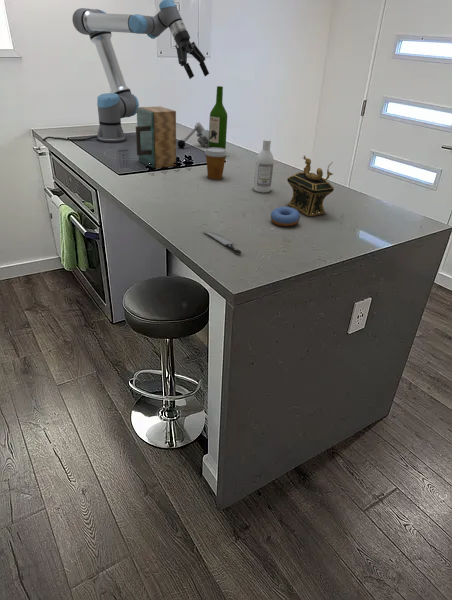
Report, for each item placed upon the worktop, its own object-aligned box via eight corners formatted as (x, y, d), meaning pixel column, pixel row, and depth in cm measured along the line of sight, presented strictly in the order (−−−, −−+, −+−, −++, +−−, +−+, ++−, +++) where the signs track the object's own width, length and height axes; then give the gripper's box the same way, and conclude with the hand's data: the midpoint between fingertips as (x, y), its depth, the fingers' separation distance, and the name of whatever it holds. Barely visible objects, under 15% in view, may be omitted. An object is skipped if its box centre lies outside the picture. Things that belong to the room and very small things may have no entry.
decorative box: (282, 203, 165) (289, 150, 155) (302, 201, 169) (310, 149, 159) (314, 222, 151) (324, 164, 140) (336, 218, 155) (347, 162, 144)
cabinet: (155, 168, 198) (153, 112, 185) (141, 161, 207) (138, 107, 195) (176, 165, 204) (175, 111, 191) (161, 159, 213) (160, 106, 201)
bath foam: (273, 192, 177) (279, 141, 167) (258, 193, 175) (263, 142, 164) (265, 187, 183) (270, 137, 172) (250, 188, 180) (255, 138, 169)
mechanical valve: (218, 142, 240) (202, 120, 230) (197, 165, 239) (180, 145, 229) (209, 140, 248) (194, 119, 238) (189, 162, 247) (172, 142, 237)
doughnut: (279, 229, 143) (280, 216, 140) (264, 219, 150) (266, 206, 148) (304, 226, 146) (306, 213, 144) (289, 216, 154) (291, 204, 152)
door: (140, 169, 194) (137, 113, 181) (126, 162, 203) (123, 108, 191) (155, 168, 198) (153, 112, 185) (140, 161, 207) (138, 107, 195)
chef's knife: (211, 231, 138) (203, 232, 137) (211, 228, 138) (203, 229, 136) (247, 253, 125) (238, 255, 124) (247, 250, 125) (239, 251, 123)
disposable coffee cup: (229, 176, 193) (230, 149, 186) (219, 182, 185) (221, 153, 179) (210, 173, 196) (211, 146, 190) (200, 178, 188) (201, 149, 182)
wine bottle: (205, 155, 224) (207, 86, 207) (212, 152, 232) (215, 85, 215) (221, 158, 222) (224, 88, 205) (227, 154, 229) (231, 86, 212)
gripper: (169, 29, 201) (190, 74, 206) (199, 28, 219) (218, 70, 224) (159, 38, 206) (180, 82, 211) (189, 37, 224) (207, 77, 229)
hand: (199, 76), depth 217 cm, fingers open, 13 cm apart
